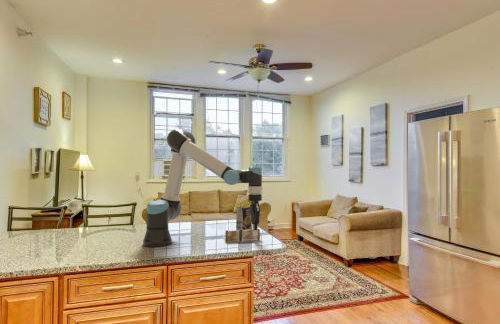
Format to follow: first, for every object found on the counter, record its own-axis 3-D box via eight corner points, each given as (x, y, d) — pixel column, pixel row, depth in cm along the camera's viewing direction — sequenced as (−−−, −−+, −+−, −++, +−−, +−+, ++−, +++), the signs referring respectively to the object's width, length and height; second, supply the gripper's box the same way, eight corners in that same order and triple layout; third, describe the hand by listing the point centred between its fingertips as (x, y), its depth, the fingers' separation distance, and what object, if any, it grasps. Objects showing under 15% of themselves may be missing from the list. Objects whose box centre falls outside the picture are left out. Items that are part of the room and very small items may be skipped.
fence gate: (242, 240, 181) (242, 230, 181) (242, 239, 182) (242, 229, 182) (259, 239, 183) (260, 229, 183) (259, 238, 184) (259, 228, 184)
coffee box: (243, 233, 200) (243, 208, 201) (235, 232, 204) (235, 207, 204) (252, 231, 208) (252, 206, 208) (244, 230, 212) (244, 205, 212)
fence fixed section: (225, 241, 178) (225, 230, 178) (225, 241, 180) (225, 230, 180) (242, 240, 180) (242, 229, 181) (241, 240, 182) (241, 229, 182)
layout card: (225, 243, 176) (225, 242, 176) (221, 236, 192) (221, 235, 192) (260, 241, 180) (260, 240, 180) (253, 235, 196) (253, 234, 196)
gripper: (264, 194, 174) (264, 237, 173) (258, 192, 186) (258, 232, 186) (251, 195, 172) (251, 238, 172) (245, 192, 184) (245, 233, 184)
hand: (254, 235), depth 179 cm, fingers closed
